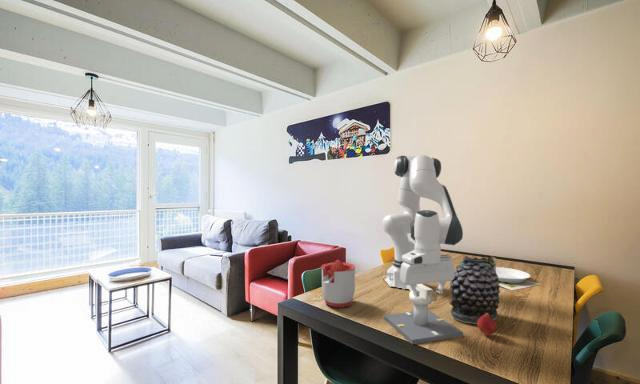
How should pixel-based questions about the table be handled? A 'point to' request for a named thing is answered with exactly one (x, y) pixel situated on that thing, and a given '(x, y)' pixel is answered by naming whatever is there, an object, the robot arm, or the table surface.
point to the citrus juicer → (338, 283)
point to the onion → (486, 325)
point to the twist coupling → (422, 295)
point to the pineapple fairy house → (475, 289)
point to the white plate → (511, 275)
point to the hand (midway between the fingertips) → (428, 294)
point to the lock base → (422, 330)
